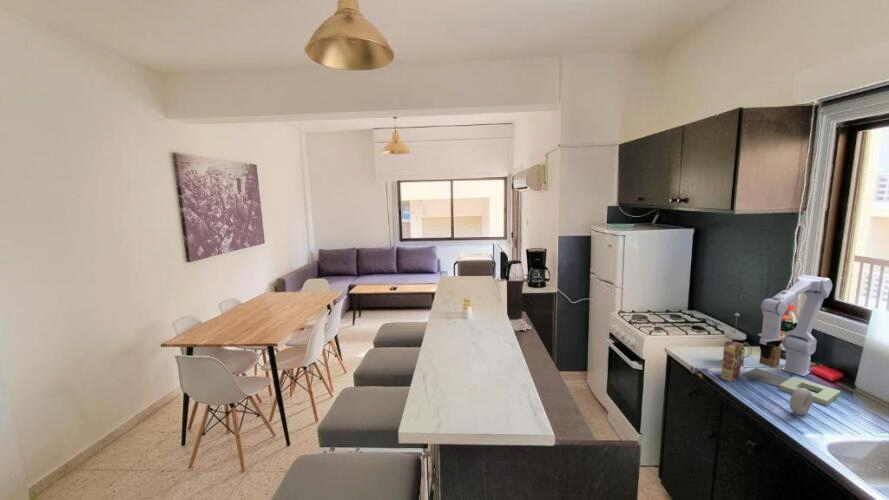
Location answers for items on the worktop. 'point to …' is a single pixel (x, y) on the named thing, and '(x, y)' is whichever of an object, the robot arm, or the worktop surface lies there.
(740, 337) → the french press
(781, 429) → the worktop surface
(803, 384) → the pocket holder
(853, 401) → the worktop surface
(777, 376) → the rubber mat
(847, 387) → the worktop surface
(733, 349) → the candy box
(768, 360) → the walnut block
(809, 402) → the donut
